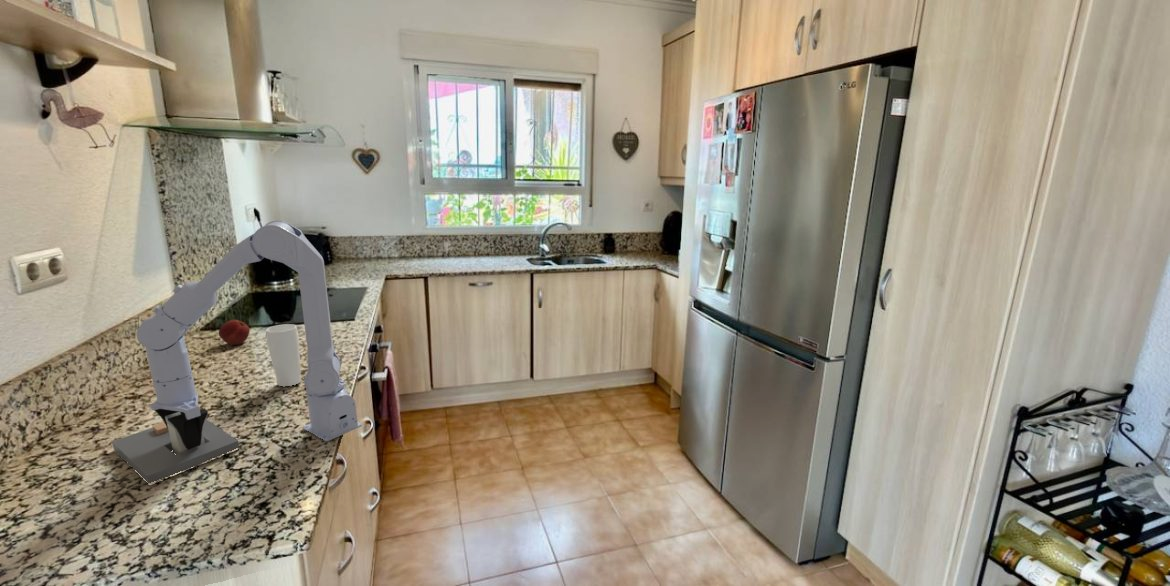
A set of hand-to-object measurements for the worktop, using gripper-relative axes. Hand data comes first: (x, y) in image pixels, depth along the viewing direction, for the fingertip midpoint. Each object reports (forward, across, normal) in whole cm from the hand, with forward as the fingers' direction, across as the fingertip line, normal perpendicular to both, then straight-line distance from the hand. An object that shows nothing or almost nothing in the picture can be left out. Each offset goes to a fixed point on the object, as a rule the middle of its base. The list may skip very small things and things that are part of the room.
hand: (186, 441), depth 96 cm
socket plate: (+2, -3, -1) cm, 4 cm away
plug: (+2, 0, 0) cm, 2 cm away
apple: (+3, -61, +32) cm, 69 cm away
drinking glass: (+3, -17, +27) cm, 32 cm away
